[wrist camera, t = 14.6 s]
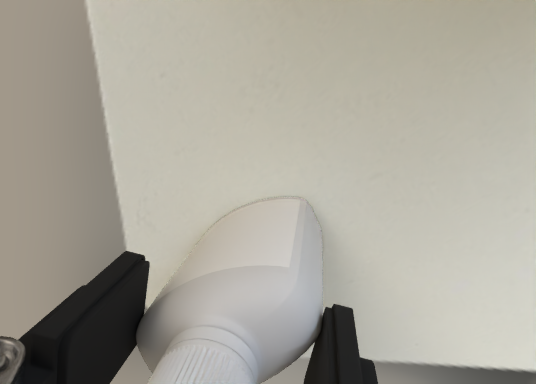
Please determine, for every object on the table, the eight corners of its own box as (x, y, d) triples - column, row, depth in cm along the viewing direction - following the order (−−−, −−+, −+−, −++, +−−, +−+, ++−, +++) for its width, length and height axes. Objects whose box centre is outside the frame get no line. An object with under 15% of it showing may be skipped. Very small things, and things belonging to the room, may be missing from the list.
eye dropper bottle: (206, 183, 17) (-12, 377, 6) (327, 198, 17) (342, 444, 5) (203, 266, 19) (18, 558, 7) (314, 282, 18) (307, 629, 7)
